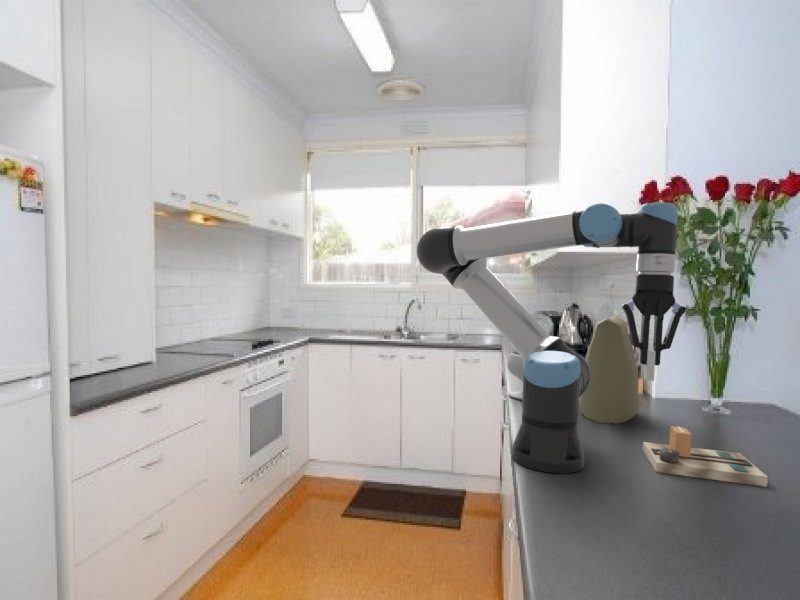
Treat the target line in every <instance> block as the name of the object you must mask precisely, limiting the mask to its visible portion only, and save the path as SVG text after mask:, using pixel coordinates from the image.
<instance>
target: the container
mask: <svg viewBox="0 0 800 600" xmlns="http://www.w3.org/2000/svg"><path fill="white" fill-rule="evenodd" d="M584 359H585V360H586V362H587V364H588V366H589V369H590V383H589V386H588V388H587V389H586V391H585V392H584V393H583V394H582V395H581V396H580V397H579V400H578V403H579V406H580V407H579V408H580V409H581V410H580V411H581V414H582V415H583V416H584V417H585V418H586V419H587V418H588V420H590V419H591V421H593V420H594V421H593V422H596V423H599V422H600V424H611V423H614V424H615V425H616V424H617V425H618V424H619V423H620V424H623V423H626V422H628V421H630V420H632V418H635V416H636V414H637V413H638V411H639V369H638V364H637V362H636V357H635V352H634V349H633V345H632V342H631V337H630V333H629V328H628V323H627V320H624V319H623V318H622V317H621V316H619V315H618V314H616V315H614V316H611V317H607V318H604V319H603V320H601V321H599V322H597V323H596V325H595V329H594V333H593V337H592V338H591V341H590V343H589V346H588V349H587V352H586V355H585V357H584Z"/></svg>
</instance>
